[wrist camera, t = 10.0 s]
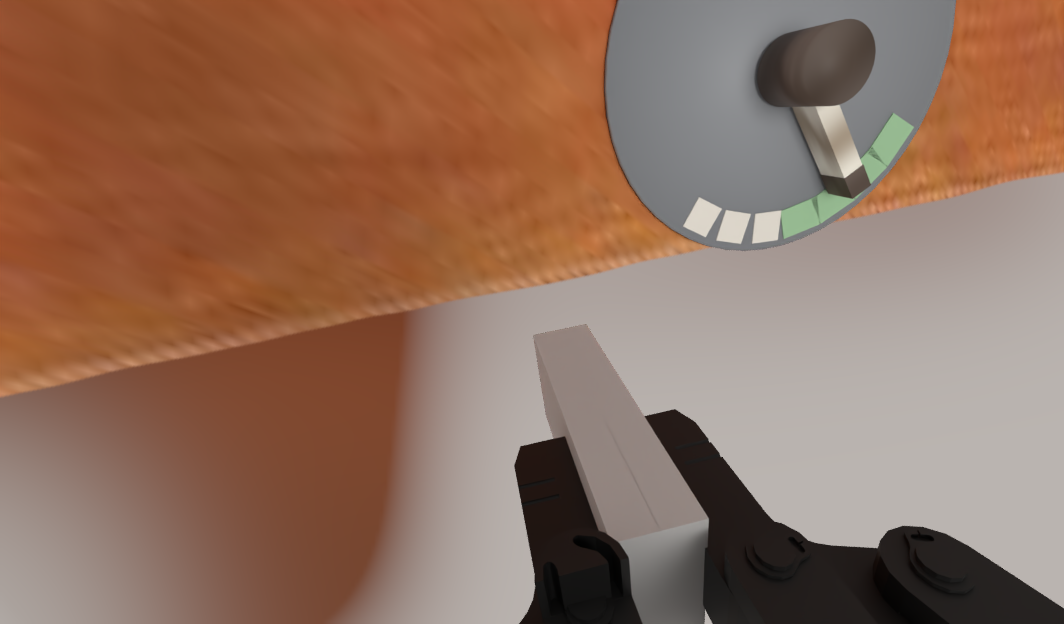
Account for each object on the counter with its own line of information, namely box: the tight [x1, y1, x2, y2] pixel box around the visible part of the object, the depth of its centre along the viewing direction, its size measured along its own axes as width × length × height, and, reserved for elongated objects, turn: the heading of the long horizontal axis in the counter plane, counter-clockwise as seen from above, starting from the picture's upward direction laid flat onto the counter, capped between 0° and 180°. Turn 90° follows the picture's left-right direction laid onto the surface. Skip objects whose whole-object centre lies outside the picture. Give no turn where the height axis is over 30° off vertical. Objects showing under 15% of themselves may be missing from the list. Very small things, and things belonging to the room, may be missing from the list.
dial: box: [604, 0, 956, 251], centre depth 35 cm, size 28×28×1 cm
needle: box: [757, 19, 876, 199], centre depth 34 cm, size 14×5×5 cm, turn 38°
